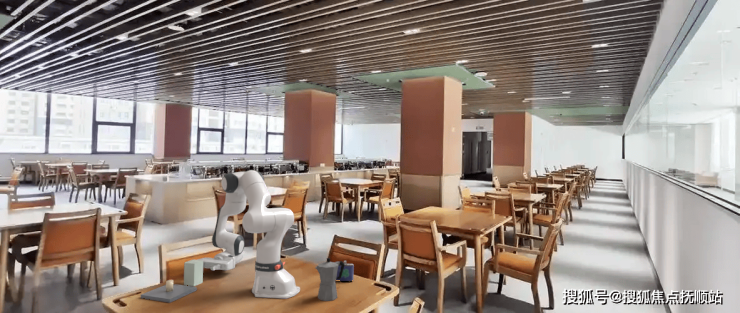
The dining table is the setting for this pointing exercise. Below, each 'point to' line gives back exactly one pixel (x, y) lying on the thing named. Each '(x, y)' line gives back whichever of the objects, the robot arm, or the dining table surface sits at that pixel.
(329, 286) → the coffeepot
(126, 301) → the dining table surface
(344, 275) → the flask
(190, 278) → the cover
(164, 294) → the board
